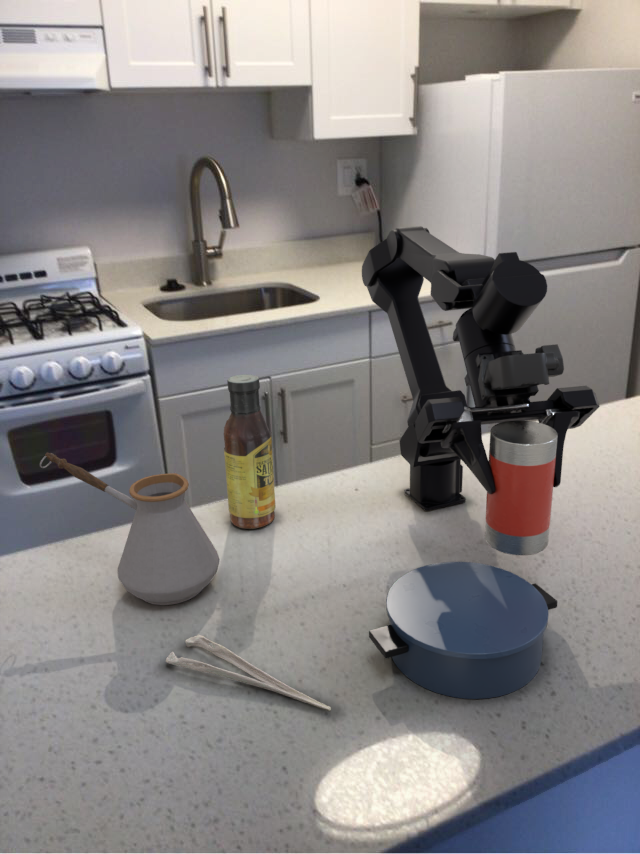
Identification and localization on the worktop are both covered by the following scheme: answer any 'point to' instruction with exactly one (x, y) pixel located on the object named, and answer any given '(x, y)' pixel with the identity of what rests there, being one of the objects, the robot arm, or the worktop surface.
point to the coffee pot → (159, 538)
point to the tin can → (520, 486)
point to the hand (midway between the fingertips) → (524, 489)
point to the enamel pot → (465, 629)
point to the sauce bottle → (248, 456)
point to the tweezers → (231, 657)
